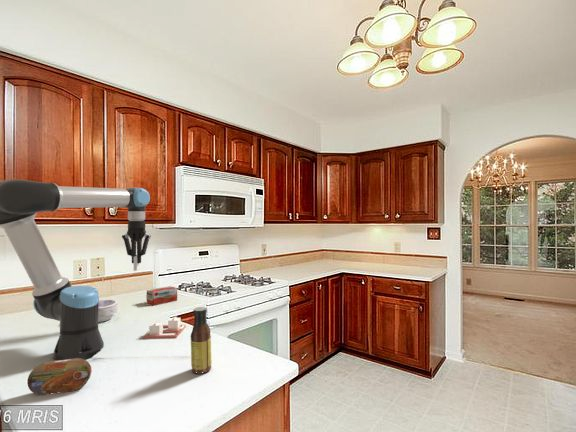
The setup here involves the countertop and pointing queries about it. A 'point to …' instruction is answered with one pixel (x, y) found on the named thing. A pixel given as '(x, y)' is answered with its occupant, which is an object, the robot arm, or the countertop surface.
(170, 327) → the white toy block
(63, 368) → the tin
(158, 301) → the medicine box
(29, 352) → the countertop surface
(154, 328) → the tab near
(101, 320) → the paper bowls
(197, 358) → the sauce bottle
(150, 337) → the red compartment tray
